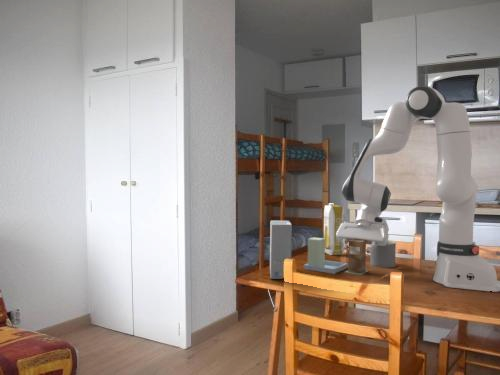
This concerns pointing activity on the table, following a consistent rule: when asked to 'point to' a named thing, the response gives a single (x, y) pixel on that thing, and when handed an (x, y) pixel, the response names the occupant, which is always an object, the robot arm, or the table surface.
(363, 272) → the felt pad
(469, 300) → the table surface
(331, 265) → the parts tray
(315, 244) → the sage box
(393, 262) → the coffee mug
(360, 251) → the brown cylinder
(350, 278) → the table surface
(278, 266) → the hard drive box
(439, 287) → the table surface
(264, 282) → the table surface
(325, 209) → the juice carton
